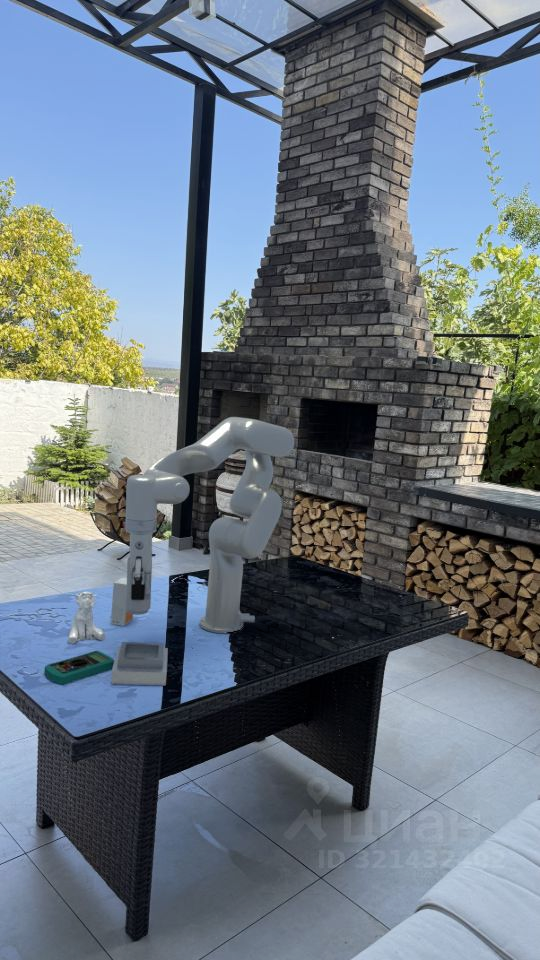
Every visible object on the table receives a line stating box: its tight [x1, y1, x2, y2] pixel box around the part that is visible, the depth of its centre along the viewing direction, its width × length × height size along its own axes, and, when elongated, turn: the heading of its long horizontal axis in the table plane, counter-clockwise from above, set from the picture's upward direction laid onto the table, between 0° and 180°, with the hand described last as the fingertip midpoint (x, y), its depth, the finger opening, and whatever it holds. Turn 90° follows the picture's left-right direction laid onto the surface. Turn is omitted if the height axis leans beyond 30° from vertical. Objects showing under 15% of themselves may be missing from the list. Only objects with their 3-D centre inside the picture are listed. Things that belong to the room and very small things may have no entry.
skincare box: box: [110, 577, 134, 627], centre depth 177 cm, size 6×4×12 cm
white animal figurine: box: [67, 590, 106, 645], centre depth 164 cm, size 10×9×12 cm
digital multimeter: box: [44, 650, 115, 686], centre depth 145 cm, size 7×15×3 cm, turn 140°
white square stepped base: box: [110, 641, 169, 686], centre depth 147 cm, size 12×14×5 cm
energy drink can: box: [126, 556, 153, 616], centre depth 158 cm, size 6×6×15 cm
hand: (138, 594), depth 159 cm, fingers closed on energy drink can, 6 cm apart
